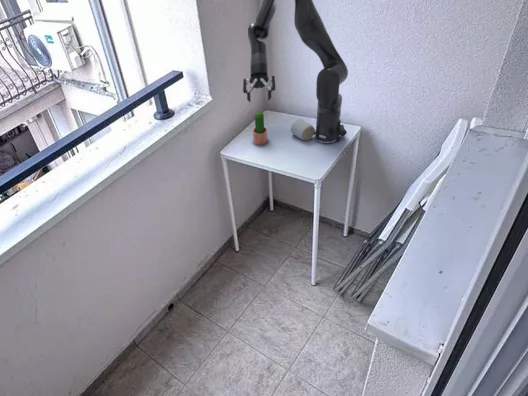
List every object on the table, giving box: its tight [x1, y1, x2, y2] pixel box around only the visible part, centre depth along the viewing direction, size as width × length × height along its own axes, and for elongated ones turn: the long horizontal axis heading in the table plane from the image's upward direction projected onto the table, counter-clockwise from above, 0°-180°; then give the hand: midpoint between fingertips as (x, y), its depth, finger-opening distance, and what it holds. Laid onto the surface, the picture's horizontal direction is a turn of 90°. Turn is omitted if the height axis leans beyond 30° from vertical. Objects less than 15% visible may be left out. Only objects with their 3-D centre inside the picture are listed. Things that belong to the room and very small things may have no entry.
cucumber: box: [254, 111, 265, 133], centre depth 163 cm, size 4×4×15 cm
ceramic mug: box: [290, 118, 316, 141], centre depth 163 cm, size 11×8×8 cm
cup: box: [252, 126, 268, 146], centre depth 166 cm, size 6×6×6 cm
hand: (259, 100), depth 163 cm, fingers open, 8 cm apart
